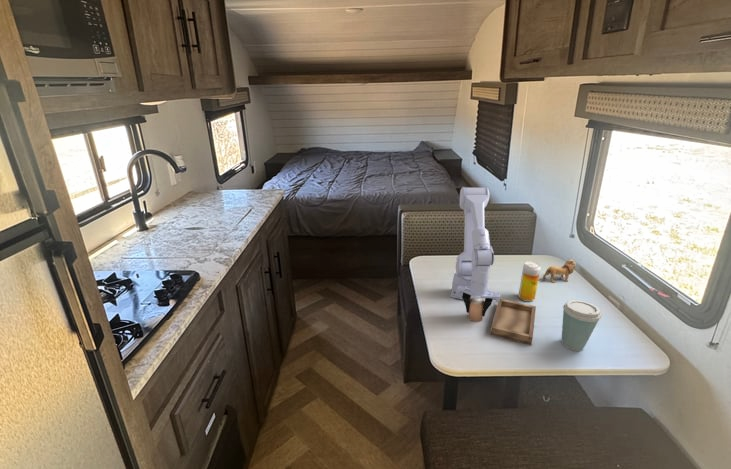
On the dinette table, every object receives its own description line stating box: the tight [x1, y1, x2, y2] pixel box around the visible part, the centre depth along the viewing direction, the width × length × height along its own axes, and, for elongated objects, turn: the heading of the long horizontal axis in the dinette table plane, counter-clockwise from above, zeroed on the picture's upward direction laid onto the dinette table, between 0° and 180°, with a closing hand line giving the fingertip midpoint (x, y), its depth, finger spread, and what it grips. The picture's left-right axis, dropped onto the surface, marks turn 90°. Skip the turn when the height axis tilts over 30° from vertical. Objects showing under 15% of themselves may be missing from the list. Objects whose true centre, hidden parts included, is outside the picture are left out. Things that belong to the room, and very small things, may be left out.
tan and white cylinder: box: [467, 298, 485, 323], centre depth 136 cm, size 5×5×7 cm
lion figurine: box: [542, 259, 577, 284], centre depth 161 cm, size 15×5×9 cm, turn 104°
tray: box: [490, 298, 537, 346], centre depth 133 cm, size 13×20×3 cm, turn 155°
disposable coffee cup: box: [561, 299, 602, 352], centre depth 120 cm, size 11×11×15 cm
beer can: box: [518, 260, 541, 302], centre depth 146 cm, size 6×6×15 cm
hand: (475, 313), depth 137 cm, fingers closed on tan and white cylinder, 5 cm apart
